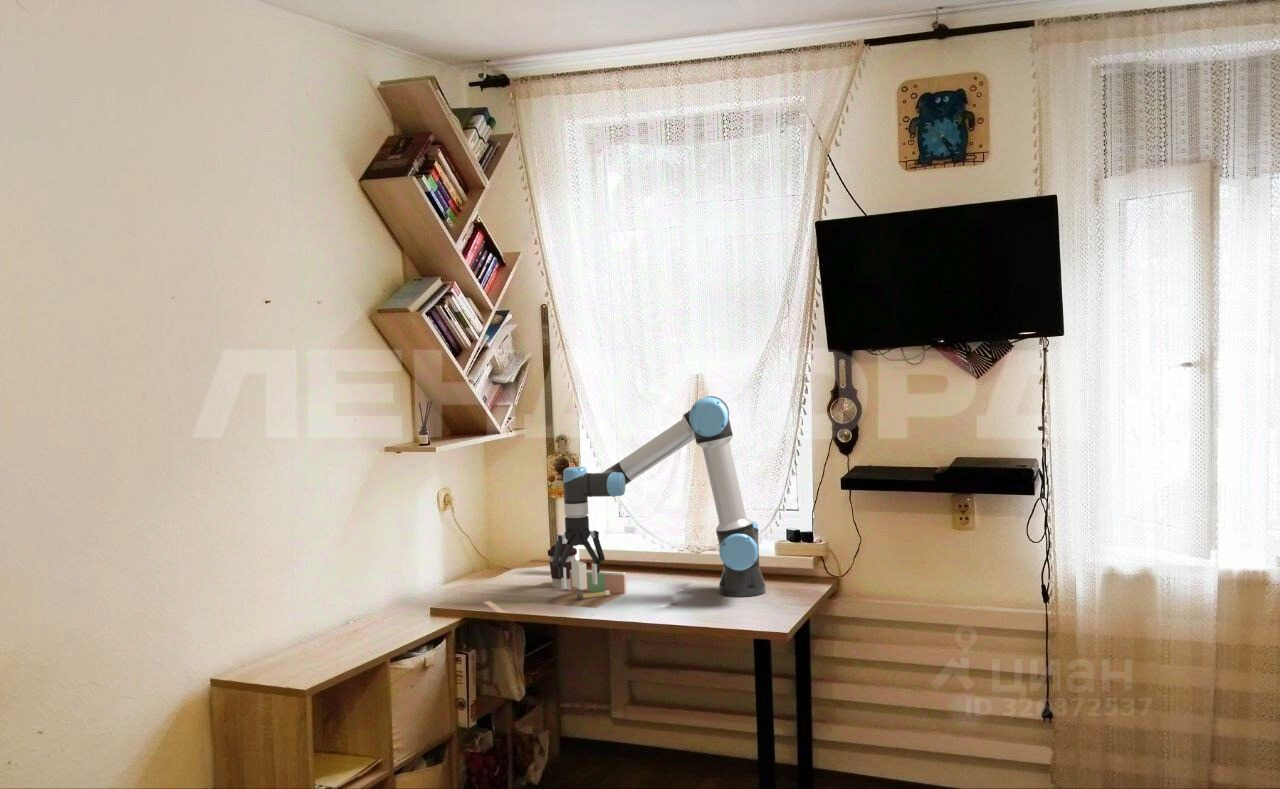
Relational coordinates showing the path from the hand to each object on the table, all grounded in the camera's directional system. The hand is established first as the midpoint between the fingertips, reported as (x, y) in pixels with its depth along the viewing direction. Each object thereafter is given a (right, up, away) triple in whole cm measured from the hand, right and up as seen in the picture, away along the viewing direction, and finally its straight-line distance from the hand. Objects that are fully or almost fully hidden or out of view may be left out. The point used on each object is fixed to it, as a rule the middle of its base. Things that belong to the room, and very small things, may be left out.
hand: (579, 585), depth 323 cm
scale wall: (+5, -4, +11) cm, 13 cm away
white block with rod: (+4, -4, +2) cm, 6 cm away
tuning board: (+1, -6, +2) cm, 6 cm away
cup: (-6, -5, +47) cm, 47 cm away
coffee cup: (-7, -6, +22) cm, 24 cm away
